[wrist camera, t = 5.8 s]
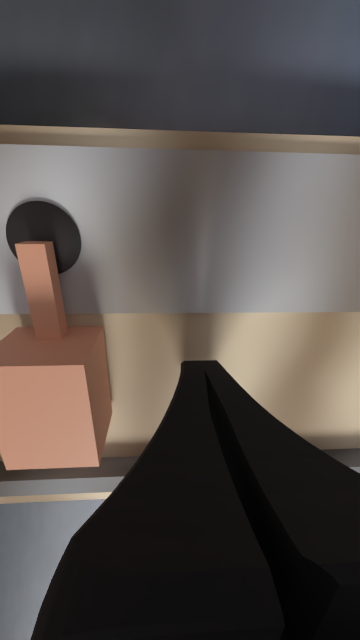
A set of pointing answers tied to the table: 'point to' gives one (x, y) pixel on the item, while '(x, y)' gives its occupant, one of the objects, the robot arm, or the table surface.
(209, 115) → the table surface
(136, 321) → the plate
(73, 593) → the robot arm
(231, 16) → the table surface
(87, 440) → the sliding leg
